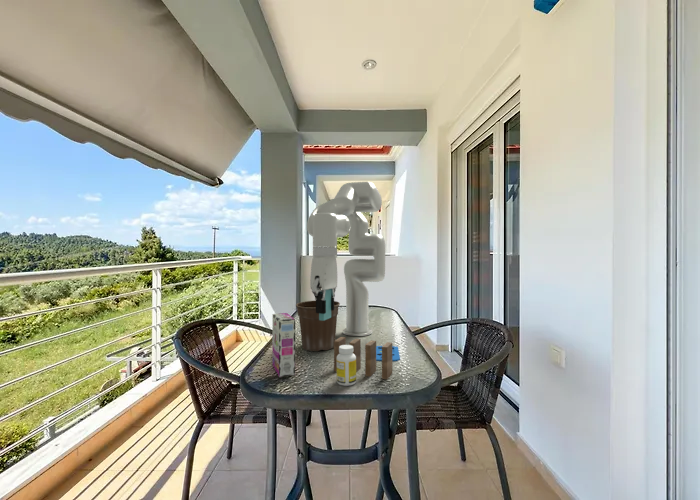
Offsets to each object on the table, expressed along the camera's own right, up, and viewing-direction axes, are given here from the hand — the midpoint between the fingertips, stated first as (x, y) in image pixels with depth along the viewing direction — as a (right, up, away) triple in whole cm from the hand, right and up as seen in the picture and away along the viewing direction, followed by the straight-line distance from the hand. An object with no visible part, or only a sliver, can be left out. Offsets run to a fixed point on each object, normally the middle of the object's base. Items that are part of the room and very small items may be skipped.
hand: (325, 311), depth 105 cm
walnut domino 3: (+14, -17, -6) cm, 23 cm away
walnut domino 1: (+5, -17, -2) cm, 18 cm away
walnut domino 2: (+9, -17, -4) cm, 20 cm away
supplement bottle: (+7, -18, -12) cm, 22 cm away
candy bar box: (-12, -18, -3) cm, 22 cm away
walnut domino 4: (+18, -17, -8) cm, 26 cm away
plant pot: (-4, -17, +21) cm, 27 cm away
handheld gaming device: (+20, -18, +12) cm, 30 cm away
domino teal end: (0, -2, 0) cm, 2 cm away
